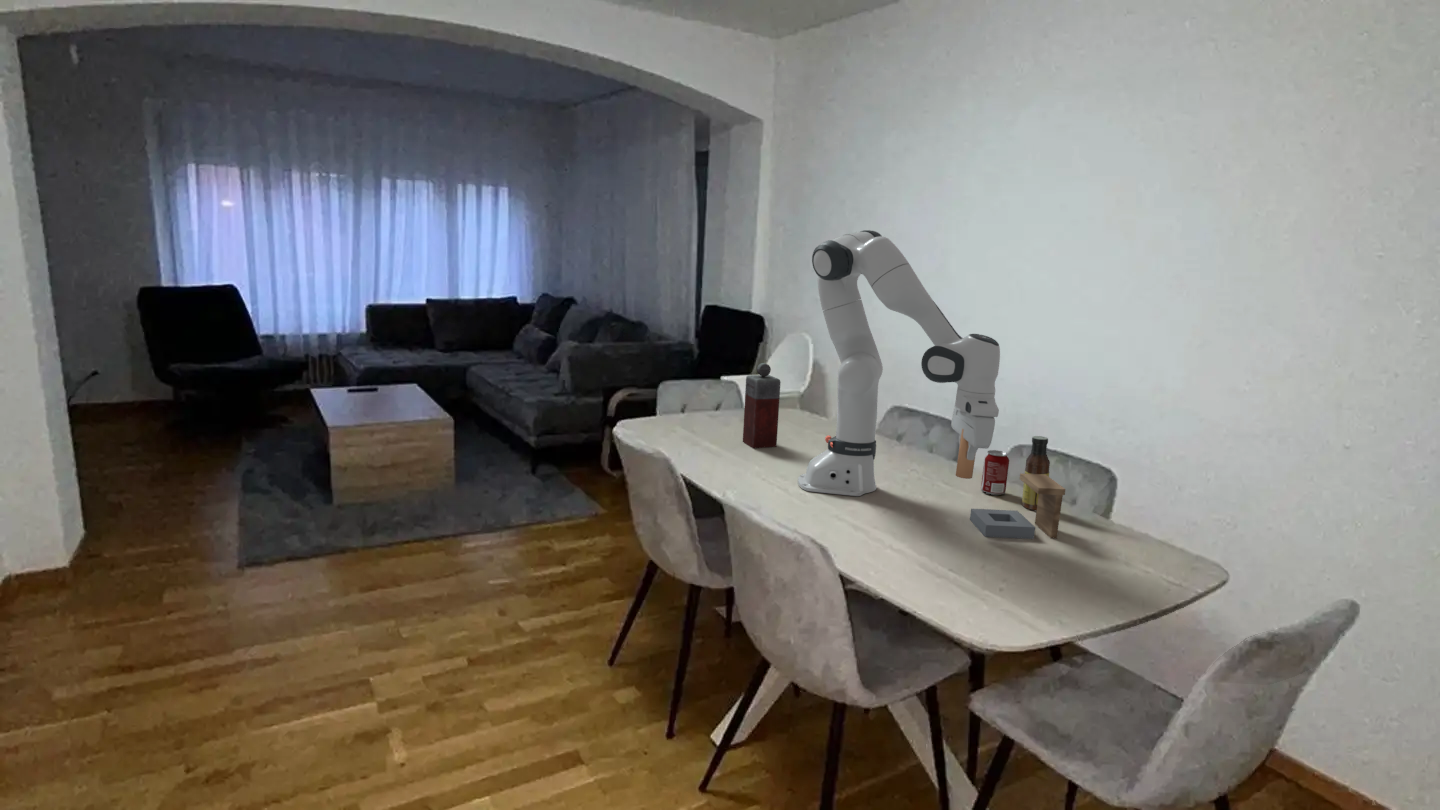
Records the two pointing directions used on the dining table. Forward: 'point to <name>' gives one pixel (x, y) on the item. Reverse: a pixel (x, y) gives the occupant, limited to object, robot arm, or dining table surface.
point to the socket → (1002, 523)
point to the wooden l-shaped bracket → (1046, 501)
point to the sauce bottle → (1035, 469)
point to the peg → (964, 460)
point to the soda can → (995, 472)
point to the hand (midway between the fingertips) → (966, 456)
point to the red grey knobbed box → (761, 409)
